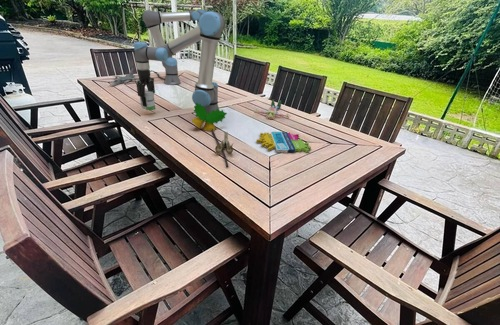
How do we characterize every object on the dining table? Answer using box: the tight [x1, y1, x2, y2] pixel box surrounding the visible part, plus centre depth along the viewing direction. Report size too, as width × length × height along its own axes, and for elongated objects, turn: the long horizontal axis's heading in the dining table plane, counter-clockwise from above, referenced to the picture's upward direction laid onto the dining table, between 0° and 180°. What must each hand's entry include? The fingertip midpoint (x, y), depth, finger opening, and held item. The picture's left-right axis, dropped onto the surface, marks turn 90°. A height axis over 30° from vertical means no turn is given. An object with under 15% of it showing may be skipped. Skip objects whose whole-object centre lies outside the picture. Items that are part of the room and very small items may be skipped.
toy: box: [252, 99, 291, 120], centre depth 197 cm, size 28×7×30 cm
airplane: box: [109, 67, 139, 87], centre depth 251 cm, size 38×32×10 cm
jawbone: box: [214, 131, 234, 156], centre depth 136 cm, size 9×15×10 cm
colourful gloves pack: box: [256, 131, 312, 154], centre depth 152 cm, size 26×2×30 cm
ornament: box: [191, 102, 228, 132], centre depth 162 cm, size 21×8×15 cm, turn 105°
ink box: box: [139, 89, 156, 112], centre depth 174 cm, size 9×5×12 cm, turn 62°
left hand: (202, 50), depth 272 cm, fingers open, 13 cm apart
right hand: (148, 105), depth 176 cm, fingers closed on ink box, 5 cm apart
